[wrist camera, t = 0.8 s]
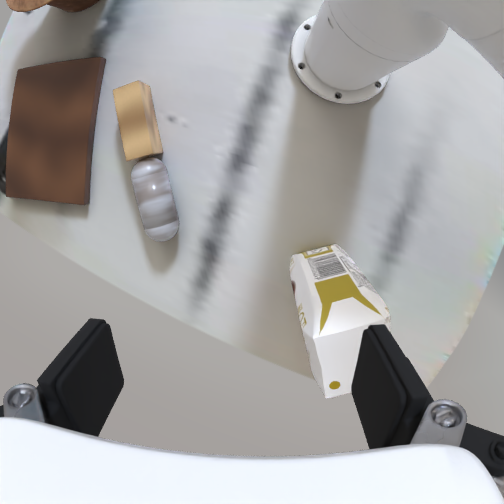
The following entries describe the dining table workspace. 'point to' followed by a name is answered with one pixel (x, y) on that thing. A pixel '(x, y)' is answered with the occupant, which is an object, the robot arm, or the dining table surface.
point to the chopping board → (53, 131)
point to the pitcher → (71, 3)
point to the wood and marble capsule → (146, 160)
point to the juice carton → (334, 313)
